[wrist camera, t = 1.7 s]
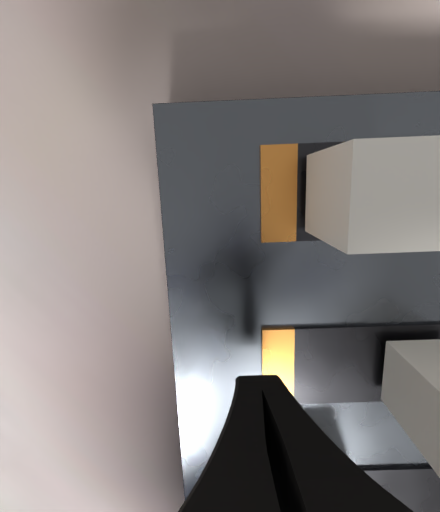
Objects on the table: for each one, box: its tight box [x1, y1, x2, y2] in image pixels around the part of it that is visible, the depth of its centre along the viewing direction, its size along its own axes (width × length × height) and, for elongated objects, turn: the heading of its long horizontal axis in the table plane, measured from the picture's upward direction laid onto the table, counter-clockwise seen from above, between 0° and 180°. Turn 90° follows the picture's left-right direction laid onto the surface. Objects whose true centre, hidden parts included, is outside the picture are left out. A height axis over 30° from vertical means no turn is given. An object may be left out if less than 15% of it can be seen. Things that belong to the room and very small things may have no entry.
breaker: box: [305, 135, 440, 254], centre depth 8 cm, size 2×2×4 cm
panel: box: [153, 91, 440, 512], centre depth 13 cm, size 19×19×3 cm
